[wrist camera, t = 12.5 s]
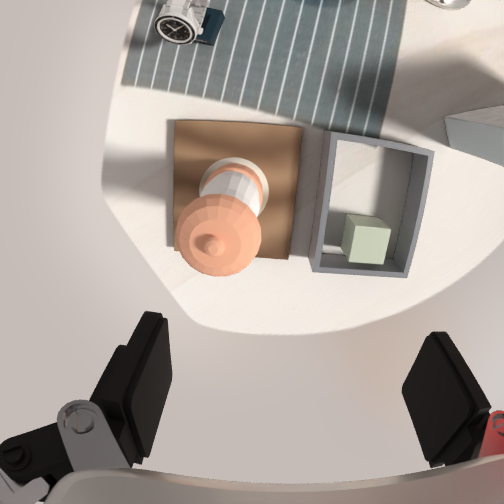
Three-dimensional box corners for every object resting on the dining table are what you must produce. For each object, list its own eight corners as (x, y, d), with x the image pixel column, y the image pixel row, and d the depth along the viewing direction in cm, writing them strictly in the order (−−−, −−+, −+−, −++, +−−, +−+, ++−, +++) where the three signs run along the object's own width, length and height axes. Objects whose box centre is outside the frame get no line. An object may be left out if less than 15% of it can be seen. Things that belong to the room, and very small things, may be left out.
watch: (169, 50, 35) (140, 31, 25) (190, -2, 32) (168, -33, 22) (209, 59, 36) (191, 40, 26) (230, 7, 33) (219, -26, 23)
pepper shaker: (236, 228, 44) (219, 308, 26) (195, 192, 42) (147, 251, 24) (274, 189, 41) (283, 247, 24) (232, 151, 39) (207, 180, 22)
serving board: (177, 120, 39) (175, 120, 38) (301, 127, 39) (302, 127, 38) (176, 247, 46) (174, 251, 45) (287, 256, 46) (288, 259, 45)
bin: (324, 130, 39) (331, 131, 35) (419, 146, 39) (434, 151, 35) (308, 257, 46) (312, 272, 42) (396, 264, 46) (406, 278, 42)
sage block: (346, 213, 44) (355, 225, 39) (379, 217, 44) (391, 229, 39) (340, 246, 46) (348, 261, 41) (372, 249, 46) (383, 264, 41)
